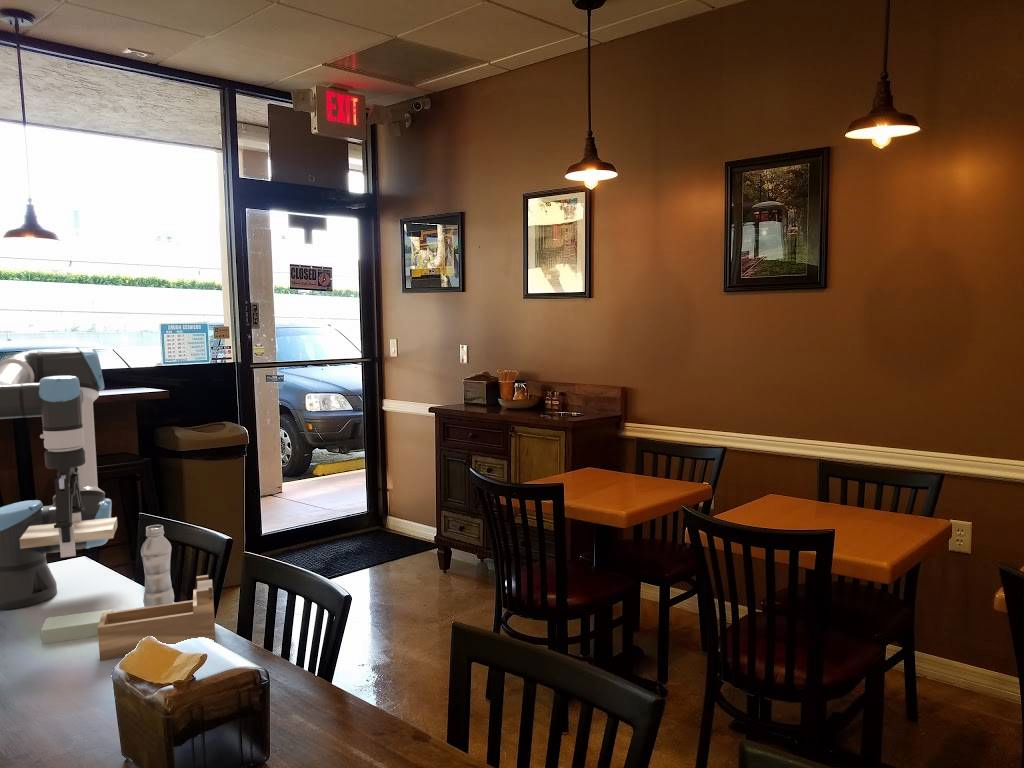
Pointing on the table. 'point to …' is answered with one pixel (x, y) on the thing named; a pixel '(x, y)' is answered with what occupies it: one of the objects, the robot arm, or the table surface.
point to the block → (206, 586)
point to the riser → (71, 626)
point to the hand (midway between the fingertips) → (72, 548)
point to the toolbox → (156, 624)
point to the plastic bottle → (157, 567)
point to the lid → (82, 532)
